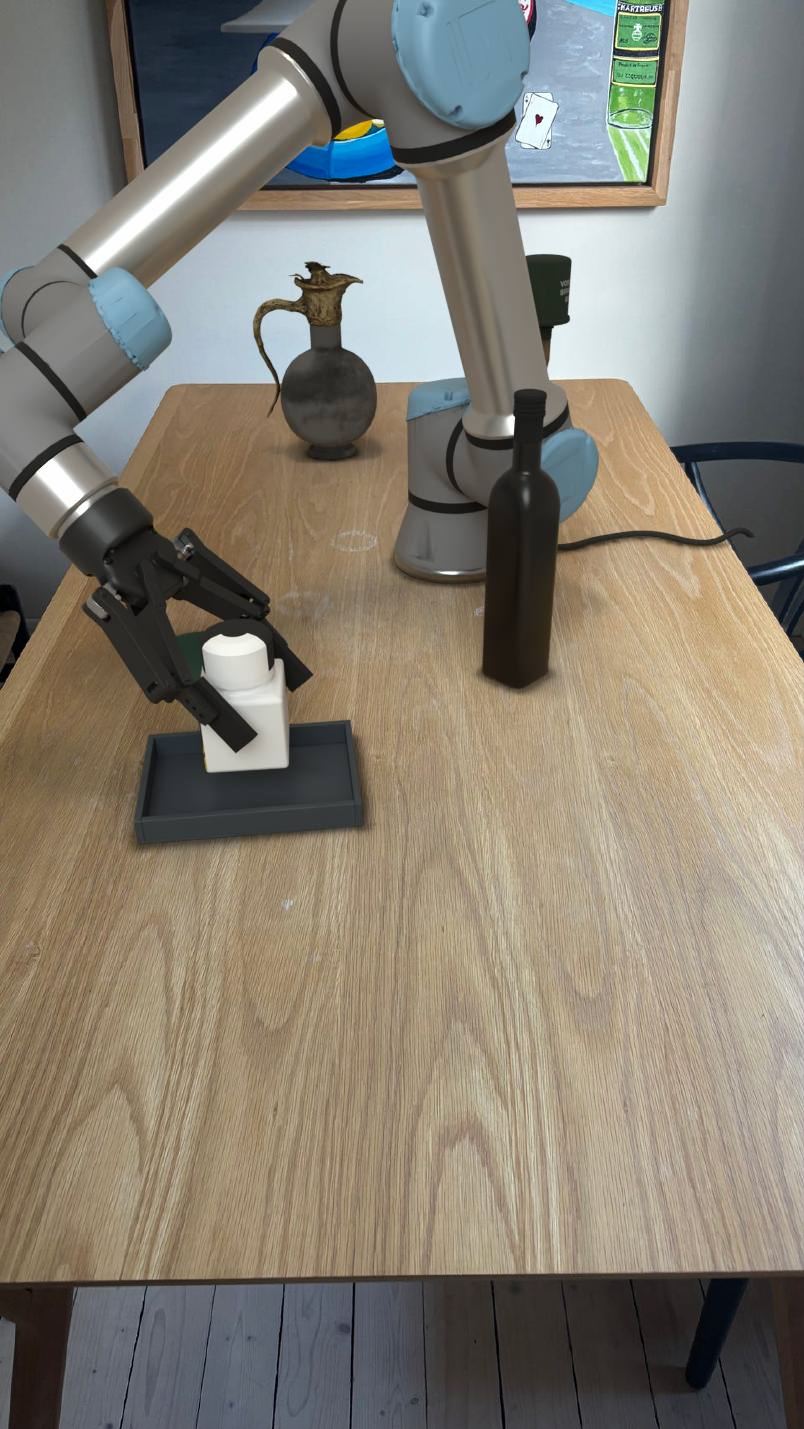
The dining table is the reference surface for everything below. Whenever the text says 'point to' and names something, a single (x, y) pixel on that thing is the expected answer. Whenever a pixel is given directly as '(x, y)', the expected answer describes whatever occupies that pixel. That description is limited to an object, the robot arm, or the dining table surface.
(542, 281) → the stick grenade
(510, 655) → the wine bottle
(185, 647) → the coaster
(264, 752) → the medicine bottle
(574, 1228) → the dining table surface
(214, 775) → the tray
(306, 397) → the pitcher
